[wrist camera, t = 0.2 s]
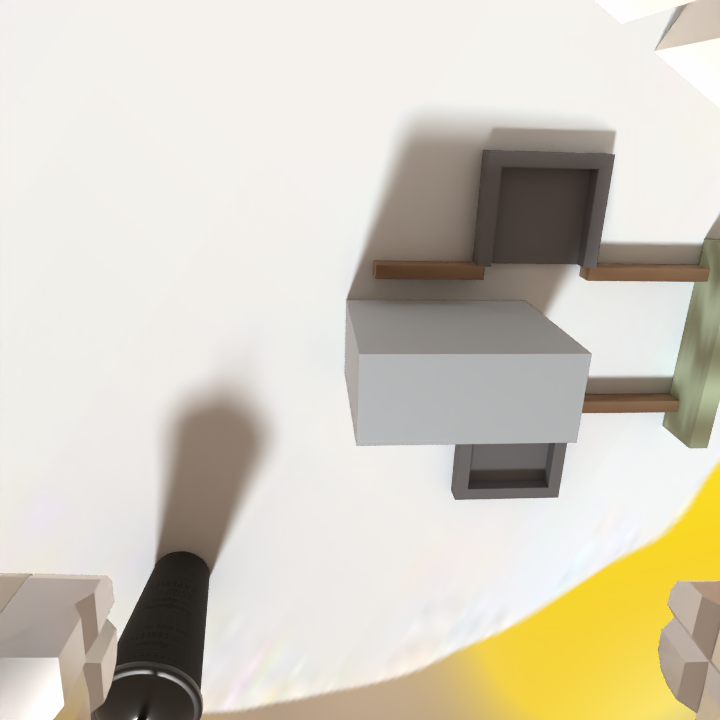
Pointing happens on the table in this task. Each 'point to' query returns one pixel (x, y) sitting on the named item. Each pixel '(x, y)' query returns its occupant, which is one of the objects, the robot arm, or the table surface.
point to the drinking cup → (162, 646)
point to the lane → (697, 351)
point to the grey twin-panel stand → (683, 38)
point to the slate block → (461, 373)
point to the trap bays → (537, 246)
